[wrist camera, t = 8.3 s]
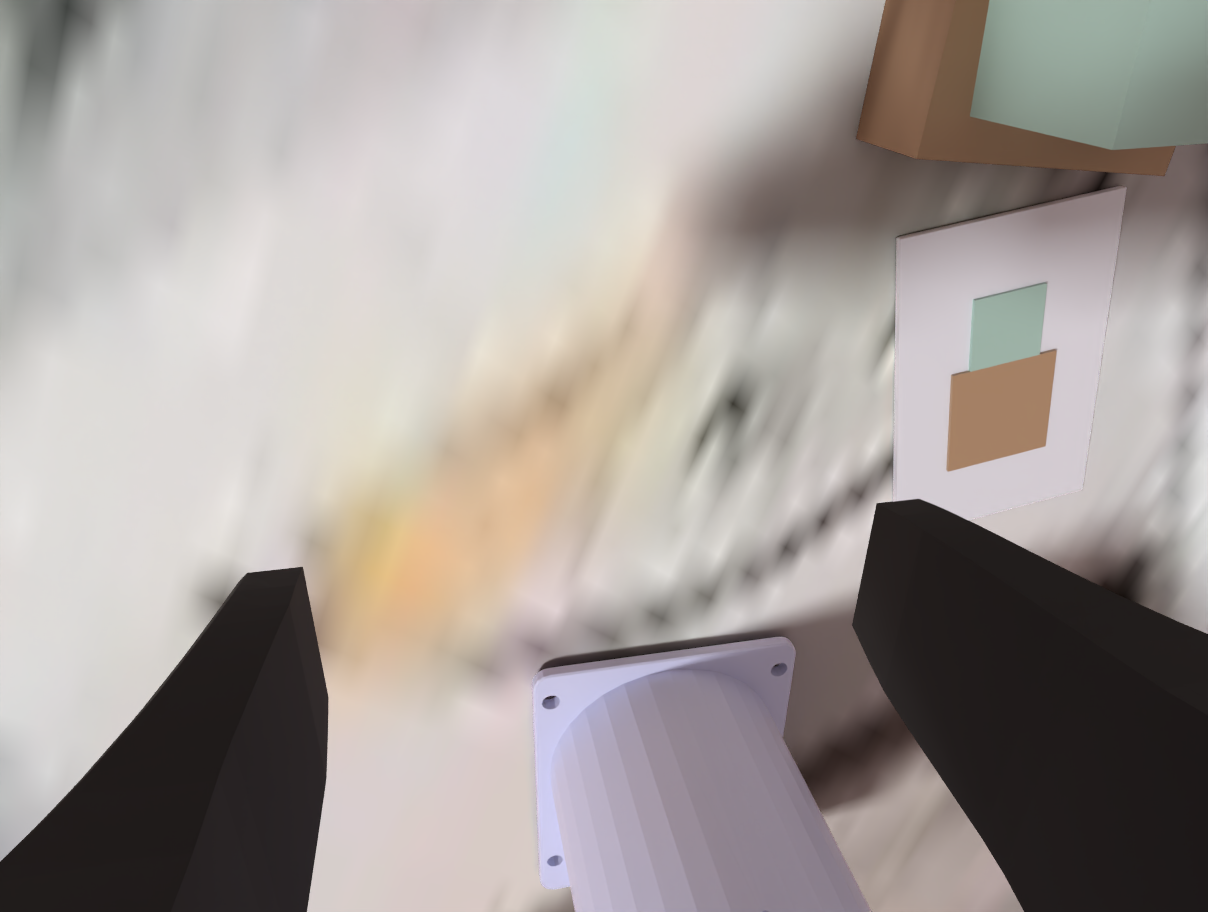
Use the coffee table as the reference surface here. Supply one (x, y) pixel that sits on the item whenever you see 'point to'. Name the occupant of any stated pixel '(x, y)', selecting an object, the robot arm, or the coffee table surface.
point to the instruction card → (1002, 353)
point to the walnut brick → (962, 98)
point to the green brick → (1097, 70)
